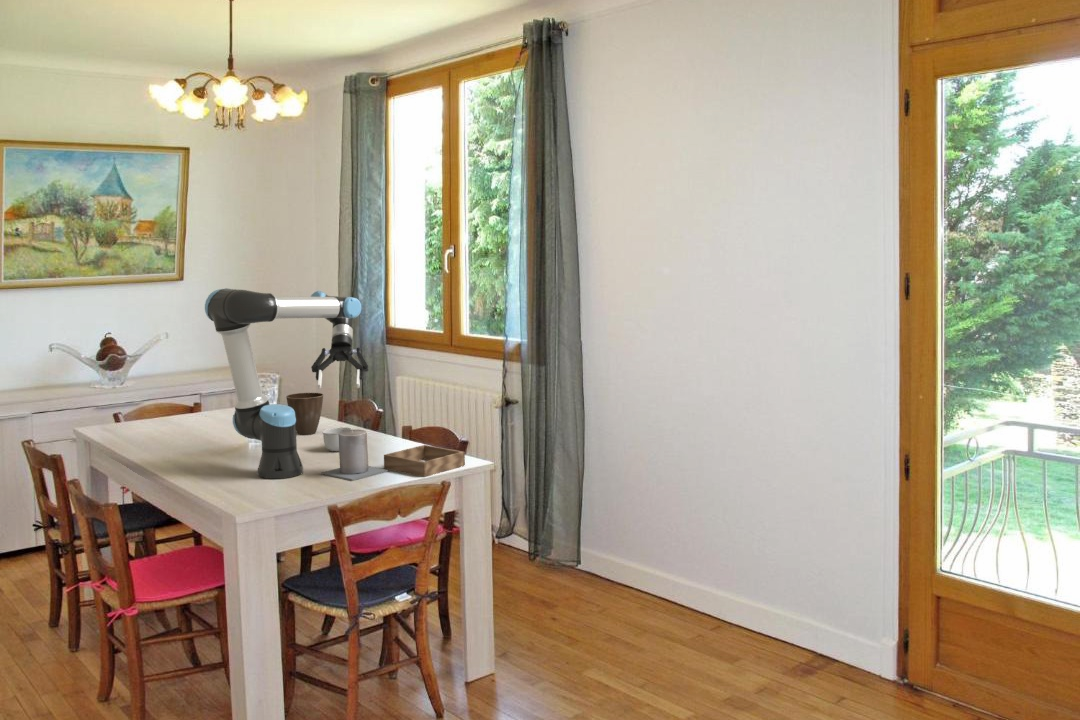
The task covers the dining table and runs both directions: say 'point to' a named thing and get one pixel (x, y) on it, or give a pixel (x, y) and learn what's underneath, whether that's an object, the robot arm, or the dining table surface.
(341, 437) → the pillar candle
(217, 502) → the dining table surface
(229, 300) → the robot arm
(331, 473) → the grey rubber mat
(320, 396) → the plant pot
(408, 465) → the walnut box
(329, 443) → the teacup
